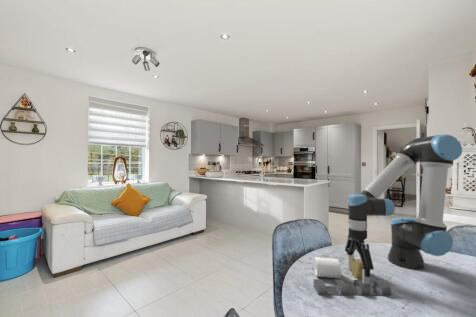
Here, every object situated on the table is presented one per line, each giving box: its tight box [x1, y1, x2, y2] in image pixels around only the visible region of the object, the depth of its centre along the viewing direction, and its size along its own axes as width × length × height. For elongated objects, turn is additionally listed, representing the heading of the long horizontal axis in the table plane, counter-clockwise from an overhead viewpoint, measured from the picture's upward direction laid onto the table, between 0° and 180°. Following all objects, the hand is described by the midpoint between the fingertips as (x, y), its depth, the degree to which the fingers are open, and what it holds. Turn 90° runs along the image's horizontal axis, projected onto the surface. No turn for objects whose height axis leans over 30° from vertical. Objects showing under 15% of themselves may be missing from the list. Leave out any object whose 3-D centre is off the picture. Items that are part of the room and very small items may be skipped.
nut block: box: [351, 258, 364, 280], centre depth 103 cm, size 4×4×7 cm
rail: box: [313, 278, 392, 297], centre depth 91 cm, size 28×6×3 cm, turn 89°
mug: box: [314, 256, 342, 280], centre depth 105 cm, size 12×10×8 cm
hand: (358, 275), depth 103 cm, fingers open, 13 cm apart
